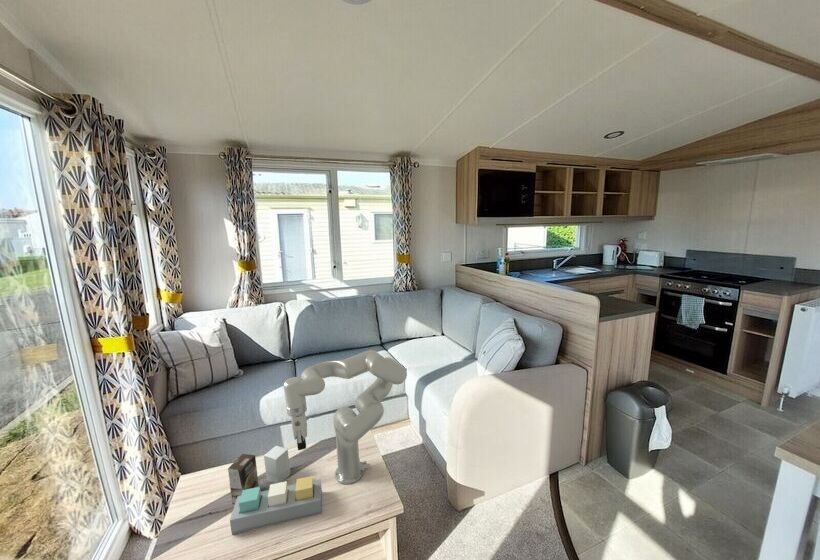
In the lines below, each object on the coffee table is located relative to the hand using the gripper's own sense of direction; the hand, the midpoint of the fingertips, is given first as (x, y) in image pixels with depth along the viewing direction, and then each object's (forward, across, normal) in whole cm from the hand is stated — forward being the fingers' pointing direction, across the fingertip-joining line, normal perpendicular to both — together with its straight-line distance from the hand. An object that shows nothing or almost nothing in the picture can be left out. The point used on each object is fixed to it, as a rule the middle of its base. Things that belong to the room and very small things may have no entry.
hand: (302, 448), depth 134 cm
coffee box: (+20, +6, +25) cm, 33 cm away
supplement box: (+21, +13, +13) cm, 27 cm away
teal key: (+17, -6, +20) cm, 27 cm away
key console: (+20, -7, +10) cm, 24 cm away
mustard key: (+17, -7, 0) cm, 19 cm away
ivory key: (+17, -7, +10) cm, 21 cm away
